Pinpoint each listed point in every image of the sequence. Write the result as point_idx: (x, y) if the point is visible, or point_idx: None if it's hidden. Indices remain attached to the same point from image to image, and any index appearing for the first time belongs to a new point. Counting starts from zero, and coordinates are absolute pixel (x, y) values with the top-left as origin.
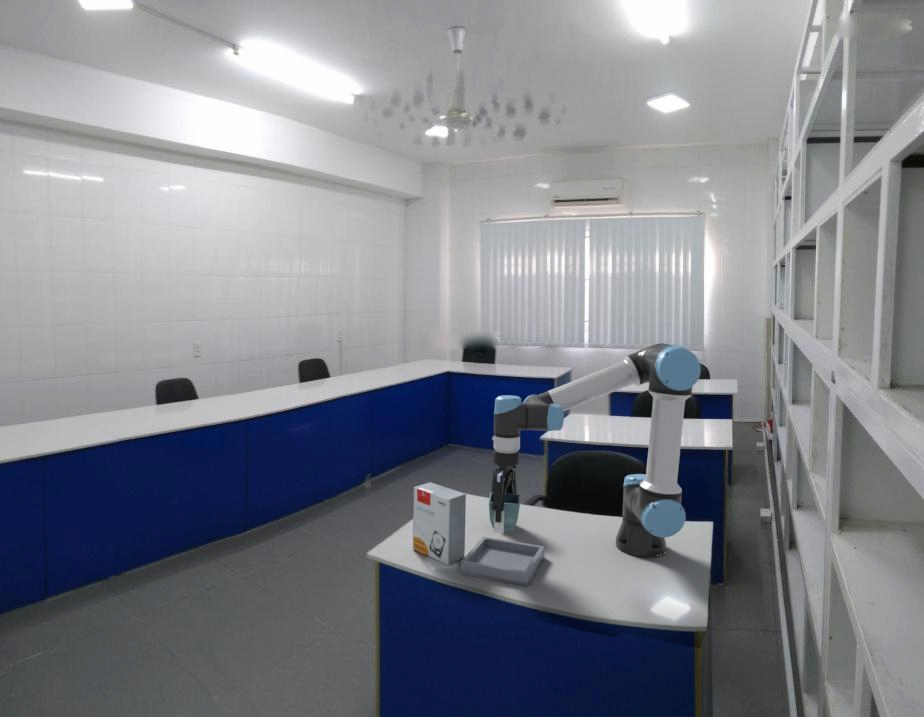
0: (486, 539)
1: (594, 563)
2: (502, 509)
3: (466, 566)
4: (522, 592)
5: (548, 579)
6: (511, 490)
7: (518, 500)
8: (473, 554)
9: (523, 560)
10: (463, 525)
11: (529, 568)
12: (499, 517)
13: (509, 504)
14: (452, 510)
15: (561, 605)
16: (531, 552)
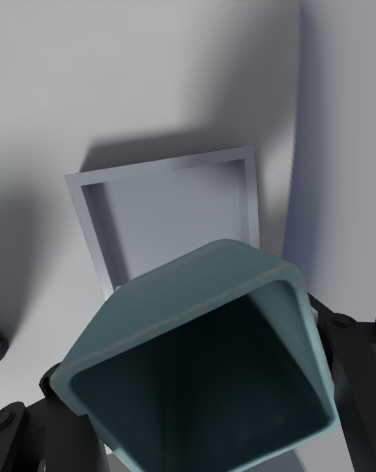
0: None
1: (2, 13)
2: (352, 320)
3: None
4: (270, 148)
5: (185, 116)
6: (98, 465)
7: (198, 315)
8: None
9: (142, 207)
10: None
11: (224, 154)
12: (315, 301)
13: (311, 322)
14: (284, 455)
15: (291, 35)
16: (94, 207)
